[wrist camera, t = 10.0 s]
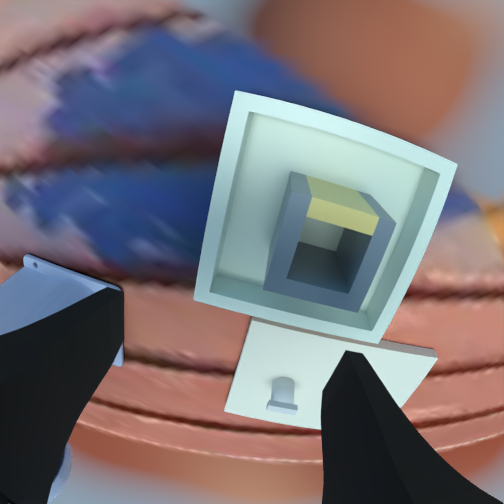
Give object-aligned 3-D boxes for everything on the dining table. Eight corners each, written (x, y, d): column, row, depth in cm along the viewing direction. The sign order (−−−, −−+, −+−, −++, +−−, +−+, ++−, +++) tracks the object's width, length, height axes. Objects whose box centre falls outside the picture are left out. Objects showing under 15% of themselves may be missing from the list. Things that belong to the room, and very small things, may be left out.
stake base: (225, 402, 24) (218, 435, 21) (253, 311, 20) (246, 346, 17) (375, 426, 24) (380, 456, 21) (434, 349, 20) (448, 381, 17)
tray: (204, 277, 20) (193, 300, 17) (243, 94, 15) (235, 90, 13) (370, 318, 20) (378, 343, 17) (436, 156, 15) (457, 164, 13)
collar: (343, 267, 18) (357, 312, 14) (269, 247, 18) (262, 289, 14) (370, 195, 16) (396, 223, 12) (290, 170, 16) (291, 191, 12)
